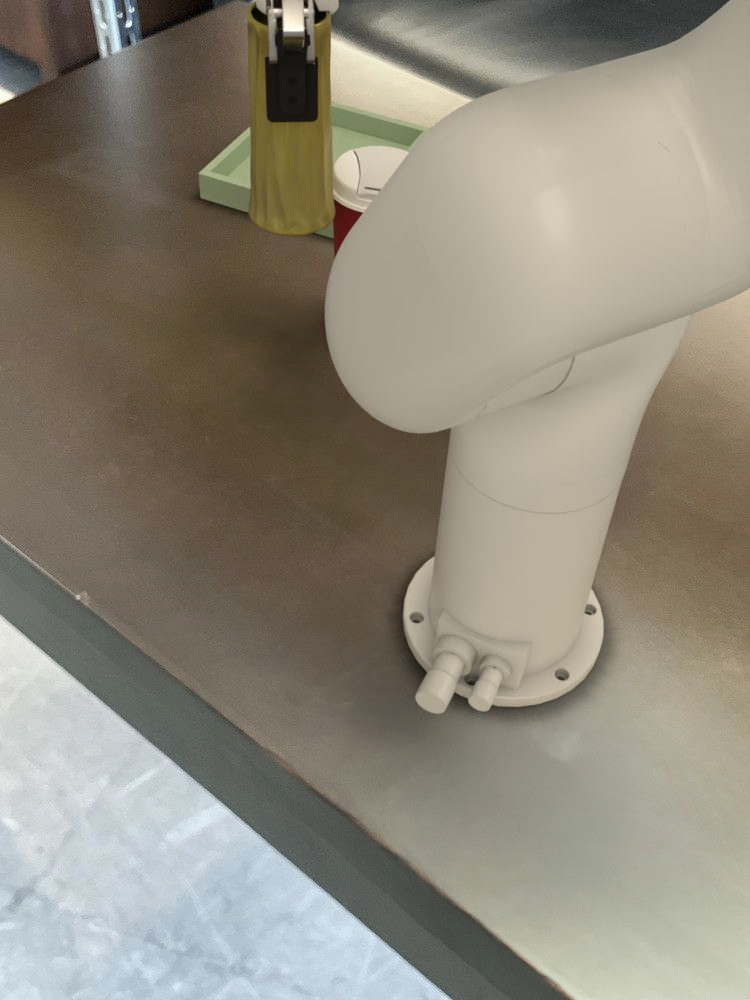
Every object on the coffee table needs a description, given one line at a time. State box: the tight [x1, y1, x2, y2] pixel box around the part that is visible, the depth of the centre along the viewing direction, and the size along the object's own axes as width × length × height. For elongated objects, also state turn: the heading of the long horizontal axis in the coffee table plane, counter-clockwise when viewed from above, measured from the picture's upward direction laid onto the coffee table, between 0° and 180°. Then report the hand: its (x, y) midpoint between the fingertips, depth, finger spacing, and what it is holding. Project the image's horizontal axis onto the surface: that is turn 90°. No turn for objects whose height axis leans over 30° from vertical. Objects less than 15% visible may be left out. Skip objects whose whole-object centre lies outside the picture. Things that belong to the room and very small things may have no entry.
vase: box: [245, 0, 336, 237], centre depth 76 cm, size 6×6×14 cm
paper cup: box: [333, 146, 409, 258], centre depth 88 cm, size 8×8×14 cm
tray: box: [198, 101, 432, 240], centre depth 107 cm, size 18×16×3 cm
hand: (290, 93), depth 74 cm, fingers closed on vase, 5 cm apart
